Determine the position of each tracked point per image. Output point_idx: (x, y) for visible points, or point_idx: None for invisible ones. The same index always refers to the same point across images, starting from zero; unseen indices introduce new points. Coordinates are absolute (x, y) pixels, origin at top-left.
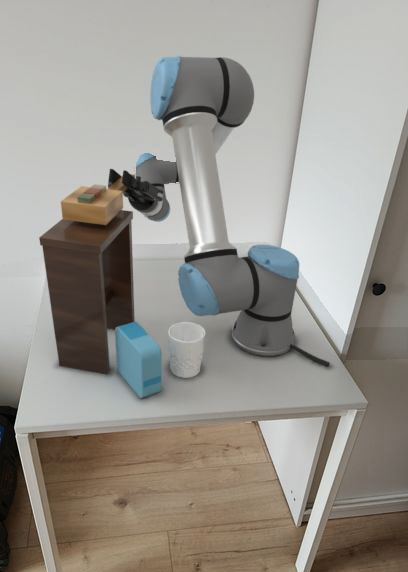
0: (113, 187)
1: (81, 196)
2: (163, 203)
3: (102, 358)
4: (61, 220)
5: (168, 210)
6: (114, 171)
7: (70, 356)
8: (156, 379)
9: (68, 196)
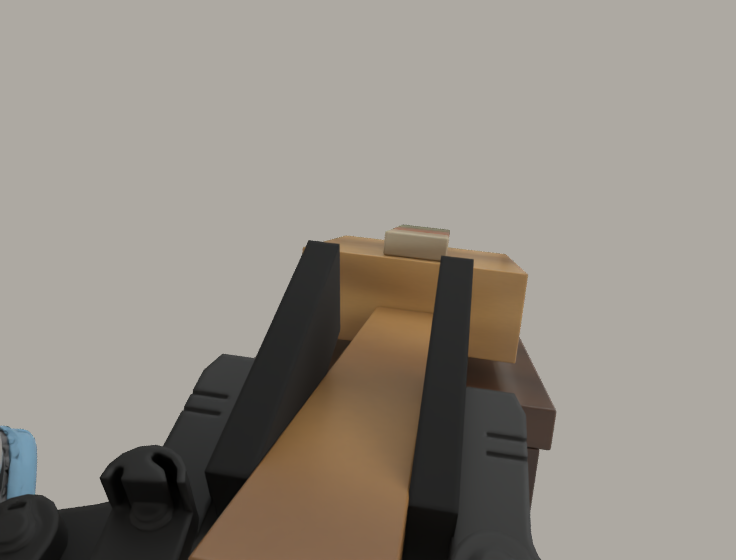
0: (396, 353)
1: (438, 229)
2: None
3: None
4: (521, 348)
5: None
6: (436, 290)
7: None
8: None
9: (506, 258)
